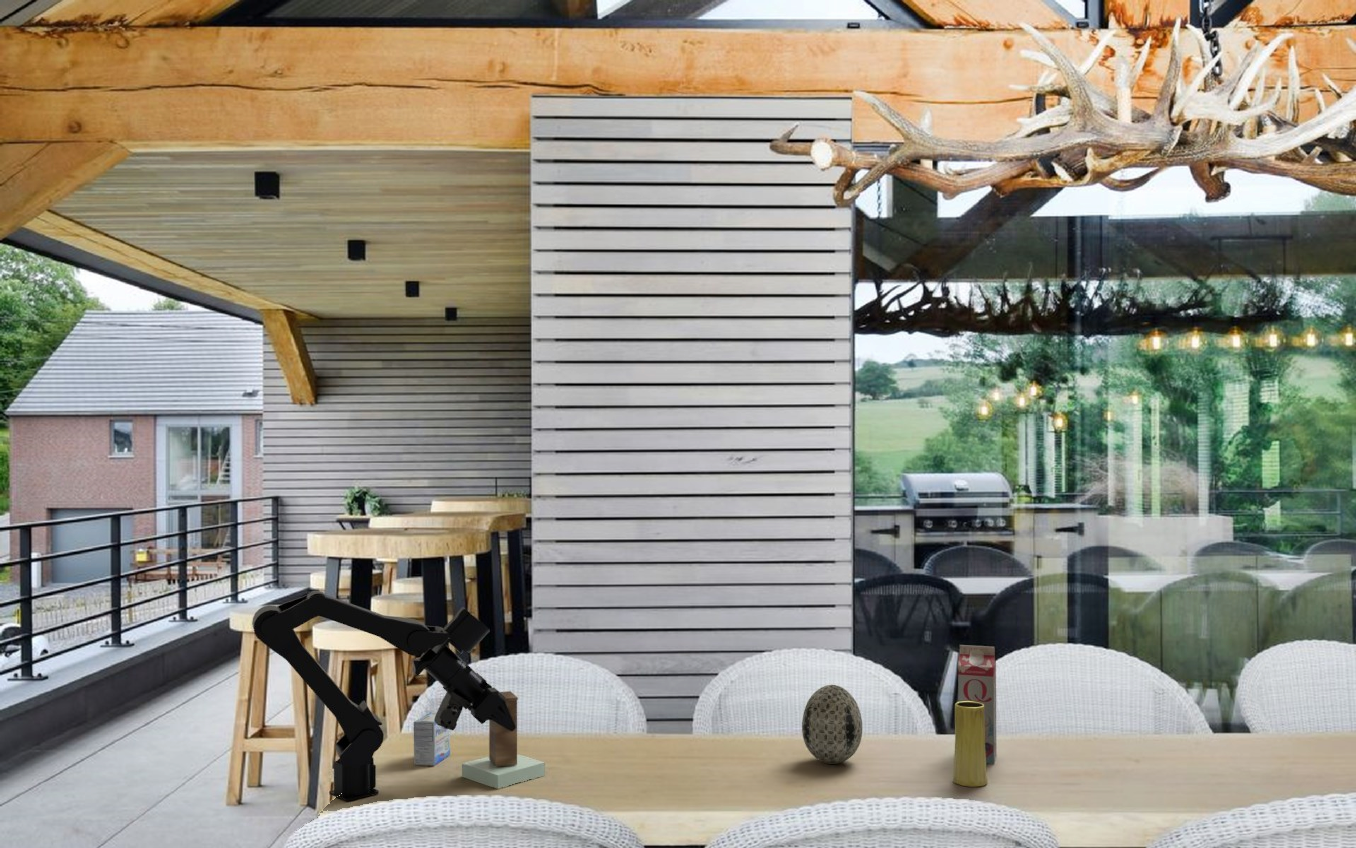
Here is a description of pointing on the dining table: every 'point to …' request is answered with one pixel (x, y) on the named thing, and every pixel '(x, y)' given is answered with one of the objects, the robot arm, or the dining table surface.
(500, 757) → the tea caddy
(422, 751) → the medicine box
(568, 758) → the dining table surface
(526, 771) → the plate
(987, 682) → the juice carton
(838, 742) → the decorative egg
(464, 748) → the dining table surface
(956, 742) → the vase
